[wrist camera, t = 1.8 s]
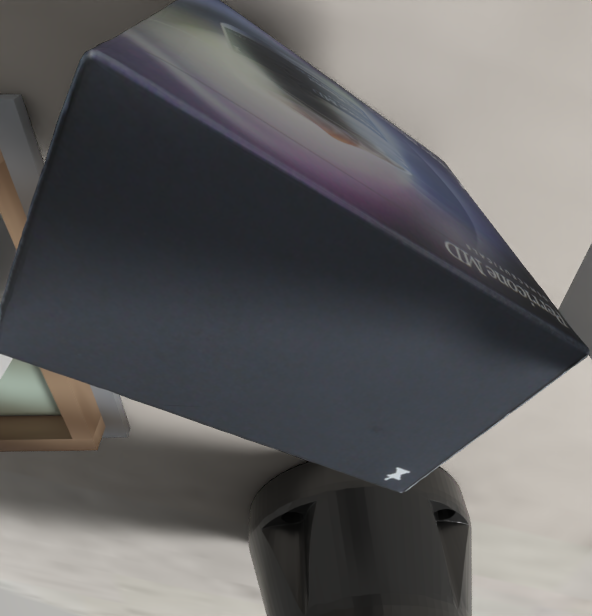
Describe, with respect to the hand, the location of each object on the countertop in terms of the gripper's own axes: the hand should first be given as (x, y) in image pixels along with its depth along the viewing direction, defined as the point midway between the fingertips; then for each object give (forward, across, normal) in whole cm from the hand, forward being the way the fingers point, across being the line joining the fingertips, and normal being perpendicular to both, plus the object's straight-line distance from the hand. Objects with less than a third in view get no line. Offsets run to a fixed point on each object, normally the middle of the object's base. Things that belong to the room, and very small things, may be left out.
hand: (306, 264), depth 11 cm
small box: (+8, 0, +1) cm, 8 cm away
